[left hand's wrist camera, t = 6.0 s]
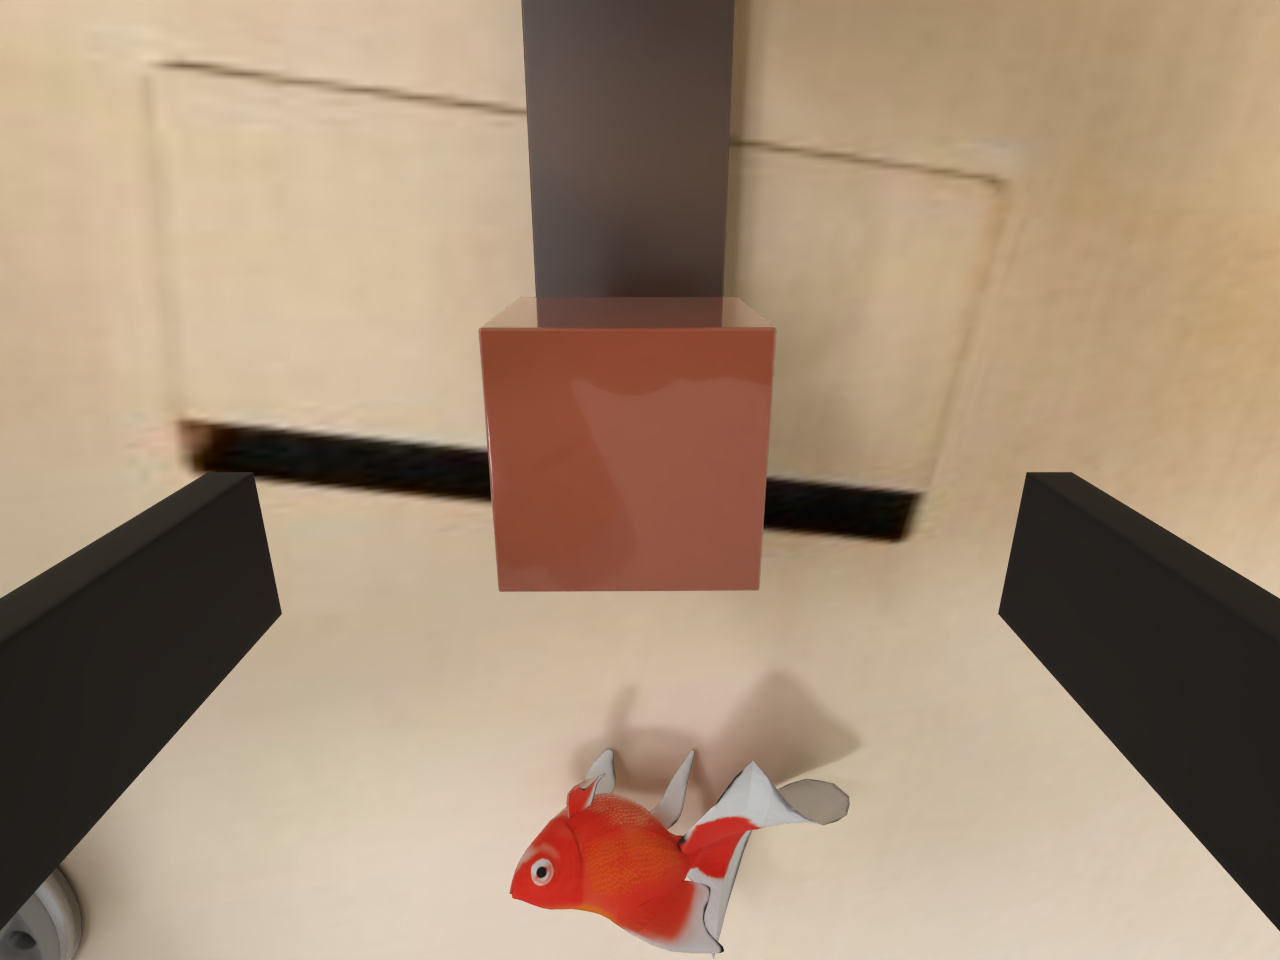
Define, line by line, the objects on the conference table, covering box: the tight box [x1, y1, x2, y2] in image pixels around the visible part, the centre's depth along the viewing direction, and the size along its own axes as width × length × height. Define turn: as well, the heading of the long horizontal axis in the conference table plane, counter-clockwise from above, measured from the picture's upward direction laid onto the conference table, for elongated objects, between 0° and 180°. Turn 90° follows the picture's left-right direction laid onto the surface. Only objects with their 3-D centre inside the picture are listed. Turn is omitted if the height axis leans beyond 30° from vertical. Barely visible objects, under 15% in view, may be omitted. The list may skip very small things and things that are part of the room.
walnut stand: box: [521, 0, 735, 297], centre depth 22 cm, size 28×7×9 cm, turn 0°
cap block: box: [479, 297, 776, 592], centre depth 19 cm, size 6×6×6 cm
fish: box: [510, 750, 849, 958], centre depth 33 cm, size 11×16×10 cm
